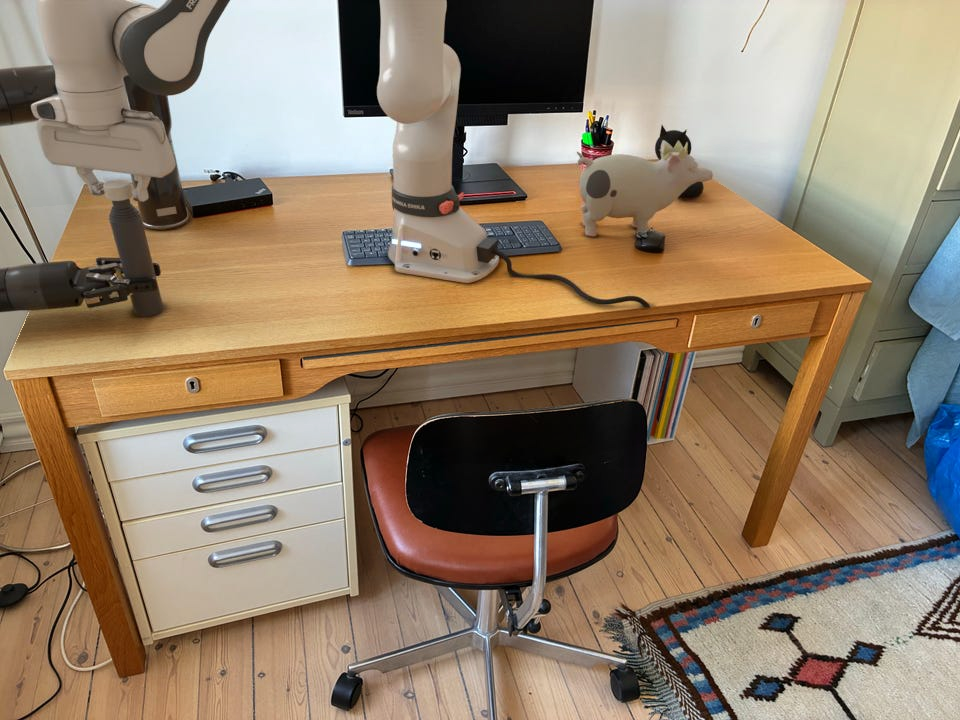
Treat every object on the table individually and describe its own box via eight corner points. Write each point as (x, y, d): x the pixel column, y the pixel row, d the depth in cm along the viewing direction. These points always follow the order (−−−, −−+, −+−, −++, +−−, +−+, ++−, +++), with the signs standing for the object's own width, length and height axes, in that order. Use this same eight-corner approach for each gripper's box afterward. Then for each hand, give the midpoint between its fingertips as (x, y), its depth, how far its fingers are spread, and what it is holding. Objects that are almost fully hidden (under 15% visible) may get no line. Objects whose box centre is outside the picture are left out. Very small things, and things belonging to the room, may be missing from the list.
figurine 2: (633, 187, 180) (643, 126, 171) (662, 174, 188) (673, 116, 180) (689, 205, 171) (702, 142, 162) (717, 191, 179) (731, 131, 171)
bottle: (130, 308, 123) (97, 186, 110) (158, 300, 125) (128, 180, 113) (139, 319, 120) (106, 195, 108) (167, 311, 122) (137, 189, 110)
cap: (118, 190, 113) (115, 177, 112) (138, 194, 112) (135, 181, 111) (100, 198, 110) (96, 185, 109) (120, 202, 109) (117, 189, 108)
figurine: (703, 243, 153) (724, 151, 141) (570, 238, 152) (580, 145, 141) (692, 224, 161) (711, 135, 150) (566, 219, 161) (576, 130, 150)
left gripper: (28, 286, 108) (149, 275, 112) (47, 246, 119) (157, 237, 123) (43, 328, 112) (159, 316, 116) (61, 286, 123) (166, 276, 127)
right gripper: (173, 107, 104) (191, 197, 112) (51, 94, 108) (77, 182, 116) (147, 119, 99) (168, 212, 107) (20, 105, 103) (49, 196, 110)
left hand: (157, 276), depth 120 cm, fingers closed on bottle, 4 cm apart
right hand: (119, 197), depth 111 cm, fingers open, 6 cm apart
